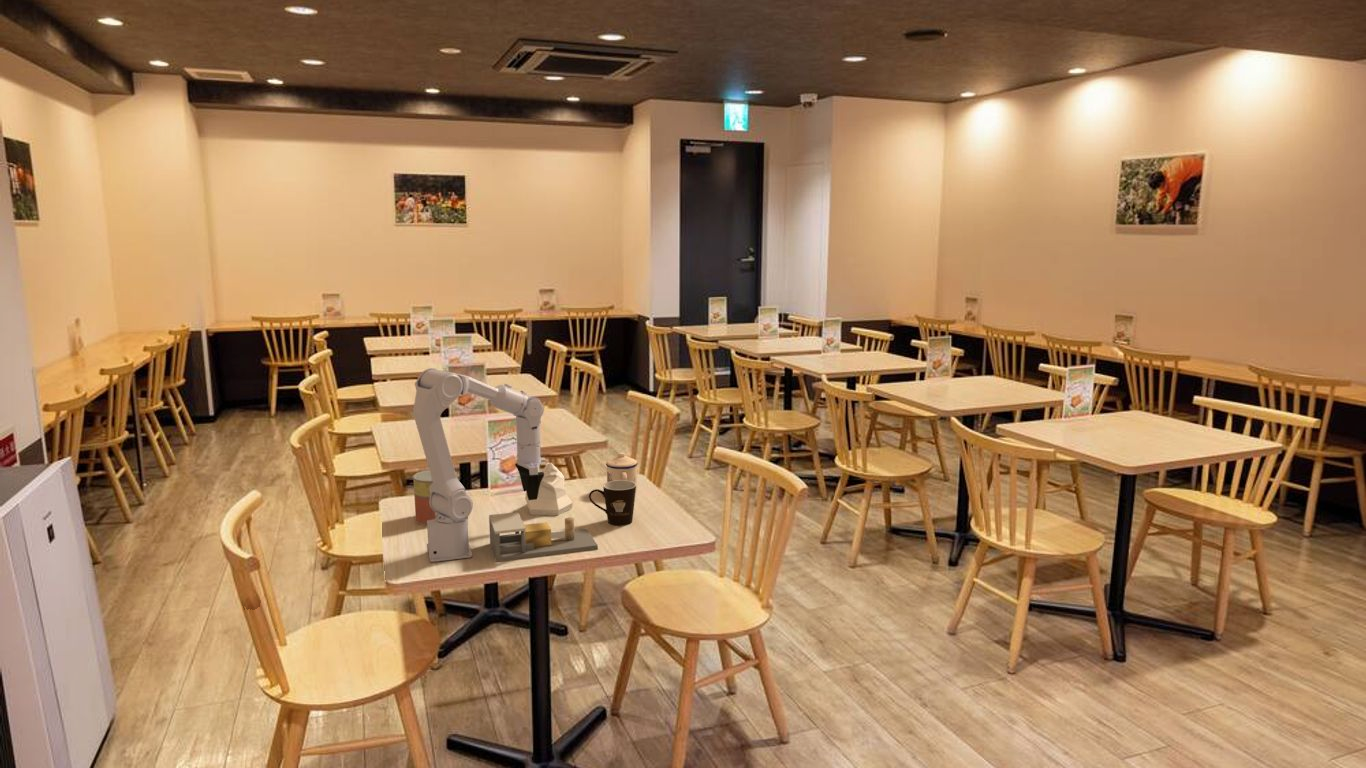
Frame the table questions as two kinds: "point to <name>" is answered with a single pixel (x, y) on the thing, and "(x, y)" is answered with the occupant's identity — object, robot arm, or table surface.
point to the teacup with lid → (622, 468)
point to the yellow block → (547, 533)
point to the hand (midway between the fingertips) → (530, 494)
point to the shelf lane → (518, 548)
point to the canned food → (423, 497)
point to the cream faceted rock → (550, 494)
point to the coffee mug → (618, 501)
